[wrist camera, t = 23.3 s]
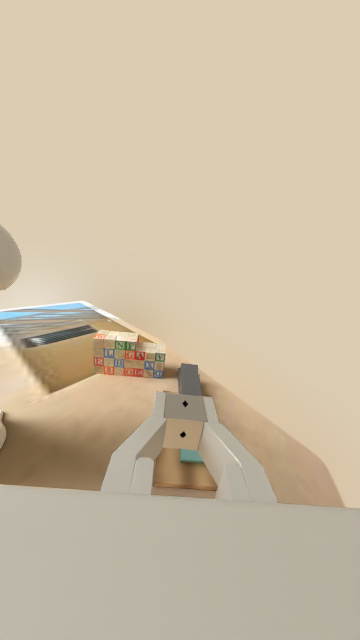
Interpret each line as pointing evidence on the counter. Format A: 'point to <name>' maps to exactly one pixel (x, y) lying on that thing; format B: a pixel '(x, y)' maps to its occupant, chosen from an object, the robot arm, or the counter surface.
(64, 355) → the counter surface
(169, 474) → the oak board
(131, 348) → the stack of blocks
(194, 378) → the domino
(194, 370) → the domino
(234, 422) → the counter surface
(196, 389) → the domino
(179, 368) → the domino
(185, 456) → the domino
